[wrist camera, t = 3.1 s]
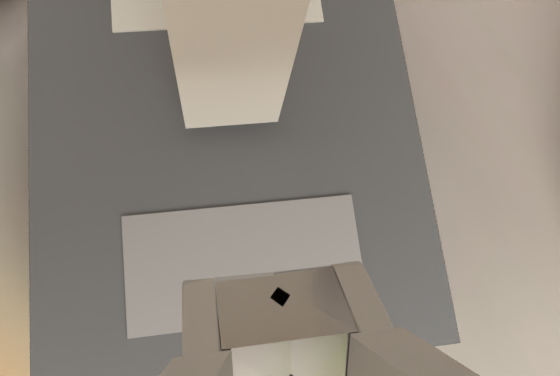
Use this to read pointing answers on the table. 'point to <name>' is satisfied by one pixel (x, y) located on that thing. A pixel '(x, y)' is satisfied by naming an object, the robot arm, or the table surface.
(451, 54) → the table surface
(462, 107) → the table surface
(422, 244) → the switch box
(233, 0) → the breaker lever
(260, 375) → the robot arm
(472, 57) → the table surface
